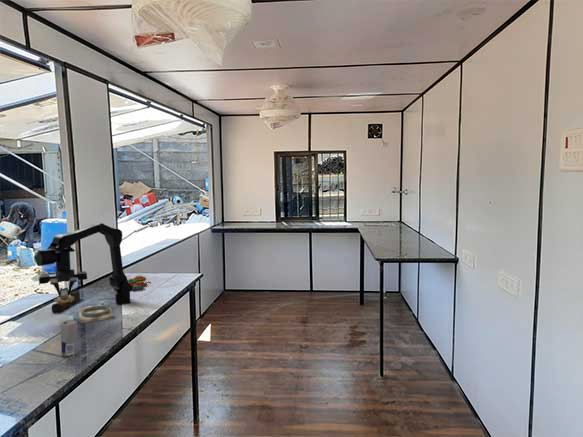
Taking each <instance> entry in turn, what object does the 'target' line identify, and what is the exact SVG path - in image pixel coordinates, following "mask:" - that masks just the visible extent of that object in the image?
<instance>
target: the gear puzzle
mask: <svg viewBox="0 0 583 437" xmlns="http://www.w3.org/2000/svg"><path fill="white" fill-rule="evenodd" d="M146 279H147V277H146V276H143V275H136V276H134V277H133V278H129V279H127V280H128V284H130V285H131V286H132V287H133V289H132V291H131V292H142V291H145V290H146V287H145V286H148V287H149V284H147V283H150V284H151V283H152V282H151V281H150V282H149V280H147V281H148V282H145V281H146ZM141 280H142V281H141ZM144 282H145V283H144ZM144 287H145V288H144ZM114 291H115V290H114ZM131 292H130V293H131ZM115 293H116V291H115Z"/></svg>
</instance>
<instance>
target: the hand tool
mask: <svg viewBox="0 0 583 437" xmlns="http://www.w3.org/2000/svg"><path fill="white" fill-rule="evenodd" d="M69 296H72V297H74V300H72V302H66V303H57V302H55V303H53V304H52V305H51V312H52V313H53V314H59V313H61V312H63V311H64V310H65V309H66V308H68V307H69V306H70V305H71V306H72V304H76V303H78V302H79V301H80V298H81V296H80V290H74V291H71V292H70V295H69Z"/></svg>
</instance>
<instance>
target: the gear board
mask: <svg viewBox="0 0 583 437" xmlns="http://www.w3.org/2000/svg"><path fill="white" fill-rule="evenodd" d="M77 311H78V320H79V321H78V322H79V324H83V323H89V322H96V321H102V320H103V321H104V320H109V319H111V320H112V319H114V318H115V315H114V313H113V310H112V307H111V305H110V303H108V302H103V301H101V302H100V303H96V305H91V306H90V305H89V306H82V307H80V306H79V307H77Z"/></svg>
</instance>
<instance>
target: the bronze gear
mask: <svg viewBox="0 0 583 437" xmlns="http://www.w3.org/2000/svg"><path fill="white" fill-rule="evenodd" d="M59 288H60V297H59V296H58V297H56V298H54V303H66V302H72V300H74V297H72V296H70V295H69V296H68V289H69V286H62V287H59Z"/></svg>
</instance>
